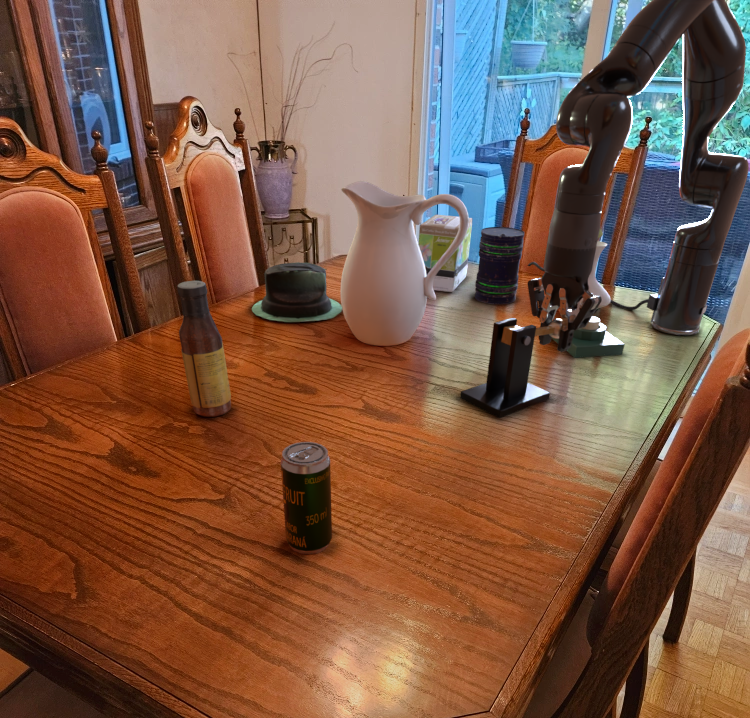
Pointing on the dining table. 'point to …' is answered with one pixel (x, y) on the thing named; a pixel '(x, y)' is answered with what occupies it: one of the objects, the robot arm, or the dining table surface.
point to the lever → (551, 329)
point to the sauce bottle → (203, 353)
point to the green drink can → (307, 497)
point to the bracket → (507, 374)
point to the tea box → (444, 250)
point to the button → (593, 324)
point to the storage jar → (498, 265)
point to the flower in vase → (592, 282)
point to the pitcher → (390, 264)
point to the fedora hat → (296, 294)
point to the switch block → (594, 343)
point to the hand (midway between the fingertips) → (553, 346)
